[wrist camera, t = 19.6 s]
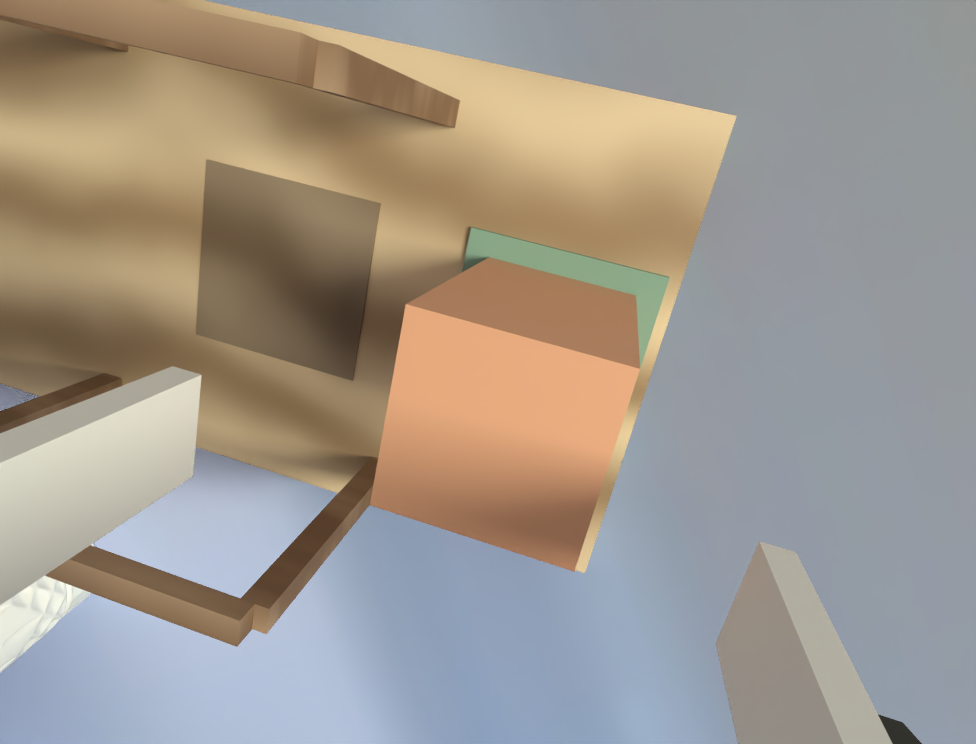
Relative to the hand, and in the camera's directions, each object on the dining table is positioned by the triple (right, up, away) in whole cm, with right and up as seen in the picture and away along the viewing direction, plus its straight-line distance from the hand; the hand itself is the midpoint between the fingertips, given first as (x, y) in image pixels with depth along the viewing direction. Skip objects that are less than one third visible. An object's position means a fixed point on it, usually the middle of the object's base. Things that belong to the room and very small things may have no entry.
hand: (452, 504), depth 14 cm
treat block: (+3, +4, +11) cm, 13 cm away
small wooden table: (-10, +8, +15) cm, 20 cm away
